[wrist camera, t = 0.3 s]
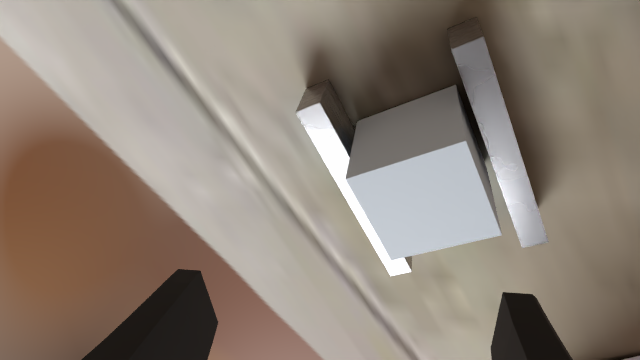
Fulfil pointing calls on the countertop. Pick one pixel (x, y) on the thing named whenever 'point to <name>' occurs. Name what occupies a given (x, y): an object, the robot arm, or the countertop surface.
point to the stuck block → (422, 176)
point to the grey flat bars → (493, 120)
